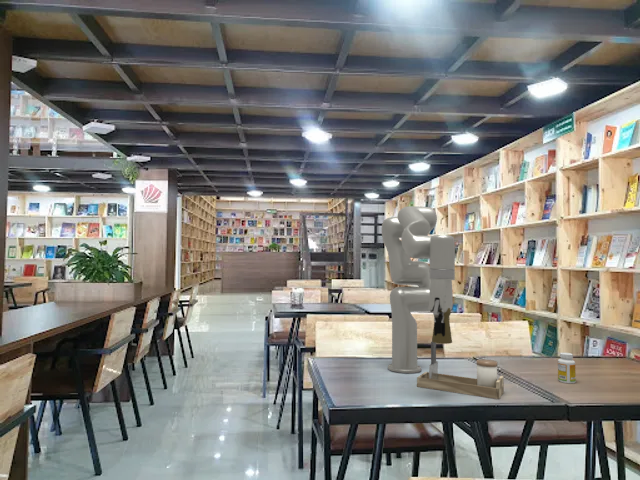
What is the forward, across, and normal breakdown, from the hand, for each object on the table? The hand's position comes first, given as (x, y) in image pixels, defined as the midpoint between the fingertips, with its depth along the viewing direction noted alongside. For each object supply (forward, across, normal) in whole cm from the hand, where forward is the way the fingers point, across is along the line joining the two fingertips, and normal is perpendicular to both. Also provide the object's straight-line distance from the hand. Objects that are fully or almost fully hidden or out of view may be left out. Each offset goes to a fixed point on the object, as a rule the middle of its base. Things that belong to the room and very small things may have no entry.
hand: (441, 334), depth 136 cm
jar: (+19, -11, +11) cm, 25 cm away
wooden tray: (+19, -11, +2) cm, 22 cm away
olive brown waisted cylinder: (+2, 0, 0) cm, 2 cm away
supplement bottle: (+19, -43, +32) cm, 57 cm away
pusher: (+19, -11, -6) cm, 23 cm away
